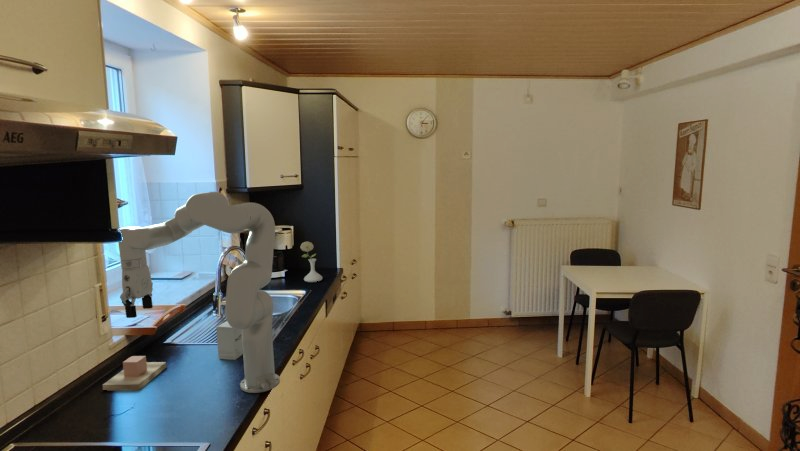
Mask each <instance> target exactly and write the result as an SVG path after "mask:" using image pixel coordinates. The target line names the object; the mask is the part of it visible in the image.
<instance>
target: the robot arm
mask: <svg viewBox="0 0 800 451" xmlns="http://www.w3.org/2000/svg"><path fill="white" fill-rule="evenodd" d="M204 226H207V227H209V228H213V229H215V230H218V231H220V232H223V233H227V234H232V235H233V234H239V233H244V232H246V231H248V232H249V233H248V237H247V240H246V243H245V251H244V252H245V255H244V260H243V263H240V264H238V265H236V266H235V267H234V268H232V270H231V271H230V272H229V274H228V278H227V281H226V292H225V293H226V294H225V306H224V308H225V309H224V310H225V311H224V312H225V319H226V321H227V322H228V324H229V325H230V326H231V327H232V328H234V329H236V330H242V347H243V354H242V357H243V359H242V360H243V371H244V372H243V373H244V378H243V379H242V380H241V381H240V382H239V386H240V390H241V391H243V392H245V393H249V394H258V393H265V392H268V391H270V390H274V389H275V388H277V387H278V386H279V384H280V382H281V377H280V376H279V374H277V373H275V369H276V368H275V356H274V342H273V341H274V340H273V317H274V316H273V313H274V302H273V299H272V296H271V295H270V294H269V292H267V291H265V290H262V288H265V286H267V285H268V284H269V283H270V281H271V280H272V276H273V261H274V247H275V246H274V245H275V237H276V224H275V220H274V217H273V215H272V213H271V212H270V211H269V210H268V209H267V208H266V207H265V206H264V205H262V204H260V203H257V202H243V203H238V204H229V200H228V198H227V197H226V196H225V195H224V194H223V193H221V192H218V191H207V192H198V193H195V194H193V195H191V196H190V197H189V198H188V199H187V200H186V202H185V204H184V205H182V206H180V207H178V208H177V209H176V210H175V212H174V217H172V218H170V219H169V220H166V221H165V222H162V223H157V224H152V225H148V226H142V227H141V226H137V225H135V226H125V227H121V228H119V229H120V231H121V233H122V237H123V240H122V242H118V241H117V243H118V250H119V260H120V266H121V286H122V292H121V293H120V296H119V299H120V300H121V304H122V305H123V307H124V308H125V317H126V318H127V319H134V318H137V316H138V315H137V308H136V305H135V302H136V300H139V299H141V302H142V303H141V304H142V308H143V309H144V310H145V309H146V310H147V309H153V307H154V306H153V284H154V283H153V281H152V277H151V272H150V268H149V266H148V263H147V262H148V260H147V253H146V251H149V250H153V249H154V250H155V249H157V248H160V247H164V246H167V245H170V244H172V243H175V242H177V241H179V240H181V239H182V238H184V237H186V236H188V235H190V234H191V233H192V232H194V231H196V230H197V229H199V228H202V227H204Z"/></svg>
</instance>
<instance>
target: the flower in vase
mask: <svg viewBox="0 0 800 451" xmlns="http://www.w3.org/2000/svg"><path fill="white" fill-rule="evenodd" d="M313 249H314V244H313V243H312V242H310V241H304V242H302V243H301V244H300V250H301V251H302V252H306V253H304V254H303V255H301V257H302V258H308V259H307V260H308V261H309V262H308V263H310V271H309V273H307V275H305V276H304V278H303V280H304V282H307V283H317V281H318V282H320V281H322V280H323V276H322V275H321V274H320V273H318V272H317V271H316V268H315V265H316V261H317V258H313V257H315V256H316V255H317V253H314V254H312V255H311V256H310V255H309V252H310V251H312V250H313Z"/></svg>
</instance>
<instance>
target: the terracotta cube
mask: <svg viewBox="0 0 800 451" xmlns="http://www.w3.org/2000/svg"><path fill="white" fill-rule="evenodd" d="M146 362H147V356H146V355H132V356H130V357H128V358H127V359H126V360H124V361H122V370H124V376H139V375H141V374H142V373H143V372H145V371H146V370H147V363H146Z"/></svg>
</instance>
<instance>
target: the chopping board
mask: <svg viewBox="0 0 800 451" xmlns="http://www.w3.org/2000/svg"><path fill="white" fill-rule="evenodd" d="M146 363H147V370H146V371H145V372H143V373H142V374H141V375H139V376H124V369H122V370H121V371H120V372H118V373H117V374H115V375H114V376H112V377H111V378H110V379H108V380H107V381H106V382H104V383H103V384H102V391H103V390H107V391H140V390H142V388H144V387H145V386H147V384H149V382H151V381H152V380H154V378H156V377H157V376H158V375H159V374H160V373H161V372H162V371H163V370H165V369H166V368H167V362H166V361H158V362H157V361H151V362H149V361H146Z"/></svg>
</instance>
